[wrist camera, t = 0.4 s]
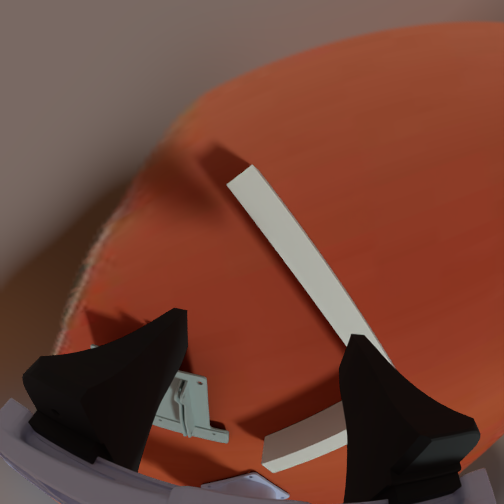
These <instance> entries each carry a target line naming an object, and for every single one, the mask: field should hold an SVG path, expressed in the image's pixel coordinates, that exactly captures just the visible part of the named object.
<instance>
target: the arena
mask: <svg viewBox="0 0 504 504" xmlns="http://www.w3.org/2000/svg"><path fill="white" fill-rule="evenodd" d="M227 186H228V188H229V189H230V190H231V192H232V193H233V194H234V195H235V197H236V198H237V199H238V201H239V202H240V203H241V205H242V206H243V207H244V208H245V210H246V211H247V212H248V214H249V215H250V216H251V218H252V219H253V220H254V222H255V223H256V224H257V226H258V227H259V228H260V230H261V231H262V232H263V234H264V235H265V236H266V238H267V239H268V240H269V241H270V243H271V244H272V245H273V247H274V248H275V249H276V251H277V252H278V253H279V255H280V256H281V258H282V259H283V260H284V262H285V263H286V264H287V266H288V267H289V268H290V270H291V271H292V272H293V274H294V275H295V276H296V278H297V279H298V280H299V282H300V283H301V284H302V286H303V287H304V289H305V290H306V291H307V293H308V294H309V295H310V297H311V298H312V299H313V301H314V302H315V304H316V305H317V306H318V308H319V309H320V310H321V312H322V313H323V315H324V316H325V317H326V319H327V320H328V321H329V323H330V324H331V326H332V327H333V328H334V330H335V331H336V333H337V334H338V335H339V337H340V338H341V340H342V341H343V342H344V344H345V345H346V347H347V345H348V342H349V339H350V336H351V334H360V335H365V336H366V337H367V338H368V339H369V340H370V342H371V343H372V344H373V345H374V346H375V347H376V348H377V349H378V351H379V352H380V353H381V354H382V355H383V356H384V357H385V358H386V359H387V361H388V362H389V363H390V364H391V365H392V366H393V367H394V368H395V366H394V365H393V363H392V361H391V360H390V358H389V357H388V355H387V353H386V352H385V350H384V348H383V347H382V345H381V344H380V342H379V340H378V339H377V337H376V336H375V334H374V332H373V331H372V329H371V328H370V326H369V325H368V323H367V322H366V320H365V318H364V317H363V315H362V314H361V312H360V311H359V309H358V308H357V306H356V305H355V303H354V302H353V300H352V299H351V297H350V296H349V294H348V293H347V291H346V290H345V288H344V287H343V285H342V284H341V282H340V281H339V279H338V278H337V276H336V275H335V273H334V272H333V271H332V269H331V268H330V266H329V265H328V263H327V262H326V260H325V259H324V258H323V256H322V255H321V253H320V252H319V251H318V249H317V248H316V246H315V245H314V244H313V242H312V241H311V239H310V238H309V237H308V235H307V234H306V232H305V231H304V230H303V228H302V227H301V226H300V224H299V223H298V221H297V220H296V219H295V217H294V216H293V215H292V213H291V212H290V211H289V209H288V208H287V207H286V205H285V204H284V203H283V201H282V200H281V199H280V197H279V196H278V195H277V193H276V192H275V191H274V189H273V188H272V187H271V185H270V184H269V183H268V182H267V180H266V179H265V178H264V176H263V175H262V174H261V173H260V171H259V170H258V169H257V168H256V167H255V166H253V165H251V166H250V167H249V168H247V169H246V170H245V171H243V172H242V173H241V174H239V175H238V176H237V177H236V178H234V179H233V180H232V181H231V182H229V183H228V184H227ZM395 369H396V368H395ZM346 444H347V430H346V422H345V416H344V410H343V404H342V401H340V402H338V403H336V404H335V405H333V406H331V407H329V408H327V409H325V410H323V411H321V412H319V413H317V414H315V415H313V416H311V417H309V418H307V419H305V420H302V421H300V422H298V423H296V424H294V425H291V426H289V427H287V428H285V429H282V430H280V431H277V432H275V433H273V434H270V435H268V436H265V439H264V447H263V454H262V462H261V464H262V465H263V466H264V467H266V468H267V469H268V470H270V471H271V472H272V473H275V472H278V471H281V470H284V469H287V468H290V467H293V466H296V465H298V464H301V463H304V462H306V461H309V460H311V459H314V458H316V457H319V456H321V455H324V454H326V453H328V452H331V451H333V450H335V449H338V448H340V447H342V446H344V445H346Z"/></svg>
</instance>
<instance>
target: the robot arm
mask: <svg viewBox="0 0 504 504" xmlns="http://www.w3.org/2000/svg"><path fill="white" fill-rule="evenodd" d="M187 347H188V333H187V310H183V309H178V308H173V309H171V310H170V311H168V312H166V313H165V314H163V315H161V316H160V317H158V318H157V319H155V320H153V321H152V322H150V323H148V324H147V325H145V326H143V327H141V328H140V329H138V330H136V331H134V332H132V333H130V334H128V335H126V336H124V337H122V338H120V339H118V340H115V341H113V342H110V343H107V344H105V345H102V346H98V347H95V348H92V349H88V350H84V351H80V352H75V353H69V354H63V355H52V356H41V357H40V358H39V359H38V360H37V361H36V362H35V363H34V364H33V365H32V366H31V367H30V368H29V369H28V370H27V371H26V372H25V373H24V374H23V377H22V378H23V384H24V386H25V389H26V390H27V393H28V394H29V396H30V398H31V400H32V402H33V403H34V405H35V407H36V409H37V411H36V413H35V414H34V415H33V414H32V413H31V411H29V410H28V409H27V408H26V407H24V406H22V405H21V404H20V403H18V402H17V401H16V400H14V399H13V398H10V399H9V400H8V402H7V403H6V404H5V405H4V406H3V407H2V408H1V410H0V456H1V457H2V459H3V460H4V461H5V462H6V463H7V464H8V465H9V466H10V467H12V468H13V469H14V470H15V471H17V472H18V473H19V474H20V475H22V476H23V477H24V478H25V479H27V480H28V481H29V482H31V483H32V484H34V485H35V486H36V487H38V488H39V489H40V490H42V491H43V492H45V493H46V494H47V495H49V496H50V497H52V498H53V499H55V500H56V501H58V502H59V503H61V504H311V503H309V502H303V501H295V500H283V499H286V498H289V494H288V493H286V492H285V491H283V490H281V489H280V488H278V487H277V486H275V485H274V484H272V483H271V482H269V481H268V480H266V479H265V478H264V477H262V476H261V475H259V474H258V473H256V472H252V473H248V474H245V475H241V476H237V477H233V478H229V479H225V480H221V481H216V482H212V483H207V484H202V485H201V488H199V487H192V486H178V485H174V484H170V483H167V482H164V481H161V480H157V479H154V478H151V477H148V476H145V475H143V474H140V473H138V469H139V465H140V461H141V457H142V454H143V451H144V448H145V444H146V441H147V438H148V435H149V432H150V429H151V427H152V424H153V421H154V418H155V416H156V413H157V411H158V408H159V406H160V404H161V401H162V399H163V398H164V396H165V394H166V392H167V390H168V388H169V386H170V385H171V383H172V381H173V379H174V377H175V375H176V373H177V372H178V370H179V368H180V366H181V364H182V361H183V359H184V356H185V353H186V350H187ZM339 384H340V393H341V398H342V404H343V410H344V416H345V422H346V430H347V474H346V487H345V495H344V503H343V504H496V500H495V497H494V493H493V490H492V487H491V484H490V481H489V478H488V475H487V472H486V469H485V468H481V469H479V470H476V471H473V472H470V473H467V474H465V475H463V476H461V477H460V478H459V475H458V472H459V471H460V470H461V465H460V461H461V460H462V459H463V458H464V457H465V456H466V455H467V454H468V453H469V452H470V451H471V450H472V449H473V448H474V447H475V446H476V445H477V443H478V441H479V439H480V432H479V429H478V427H477V425H476V423H475V421H474V419H473V418H471V417H469V416H466V415H463V414H461V413H458V412H456V411H454V410H452V409H450V408H448V407H446V406H444V405H442V404H440V403H439V402H437V401H435V400H434V399H432V398H431V397H429V396H428V395H426V394H425V393H423V392H422V391H420V390H419V389H418V388H416V387H415V386H414V385H413V384H412V383H410V382H409V381H408V380H407V379H406V378H405V377H403V376H402V375H401V374H400V373H399V372H398V371H397V370H396V369H395V368H394V367H393V366H392V365H391V364H390V363H389V362H388V361H387V359H386V358H385V357H384V356H383V355H382V354H381V353H380V352H379V351H378V349H377V348H376V347H375V346H374V345H373V344H372V343H371V342H370V340H369V339H368V338H367V337H366V336H365V335H360V334H351V336H350V339H349V342H348V345H347V348H346V350H345V353H344V356H343V359H342V361H341V364H340V367H339Z"/></svg>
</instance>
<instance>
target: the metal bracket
mask: <svg viewBox="0 0 504 504" xmlns="http://www.w3.org/2000/svg"><path fill="white" fill-rule="evenodd" d="M95 347H98V346H97V345H94V344H92V345H91V349H92V348H95ZM197 381H200V382H202V384H201V383H198V382H197ZM153 425H156V426H159V427H162V428H166V429H169V430H172V431H176V432H180V433H183V435H184V436H187V435H188V437H190V438H191V436H195V437H199V438H203V439H208V440H212V441H217V442H221V443H228V441H229V431H227V430H222V429H217V428H213V427H211V426H210V421H209V407H208V392H207V379H206V377H204V376H201V375H197V374H192V373H188V372H184V371H180V370H178V372H177V373H176V375H175V377H174V379H173V381H172V383H171V385H170V386H169V388H168V390H167V392H166V394H165V396H164V398H163V399H162V401H161V404H160V406H159V408H158V411H157V413H156V416H155V418H154V421H153Z"/></svg>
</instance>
